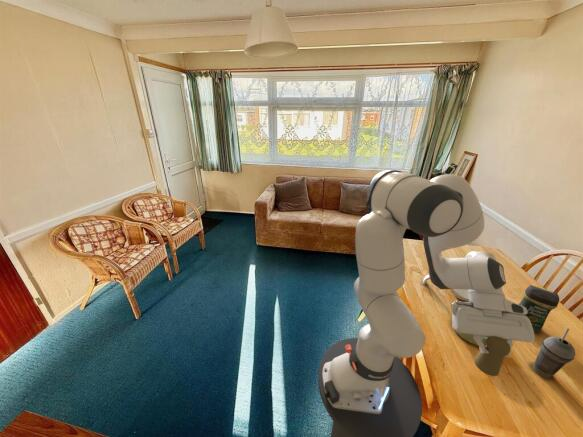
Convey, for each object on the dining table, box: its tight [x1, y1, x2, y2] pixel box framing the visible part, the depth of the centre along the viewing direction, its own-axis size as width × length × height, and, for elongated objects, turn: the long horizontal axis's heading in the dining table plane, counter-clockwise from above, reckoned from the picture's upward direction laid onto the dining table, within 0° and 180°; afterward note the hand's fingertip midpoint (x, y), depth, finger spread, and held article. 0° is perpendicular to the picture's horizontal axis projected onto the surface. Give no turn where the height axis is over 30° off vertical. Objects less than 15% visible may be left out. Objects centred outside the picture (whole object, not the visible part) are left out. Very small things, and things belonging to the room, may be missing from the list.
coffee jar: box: [518, 284, 560, 333], centre depth 94 cm, size 10×8×19 cm
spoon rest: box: [422, 274, 469, 302], centre depth 114 cm, size 24×12×7 cm, turn 55°
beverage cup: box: [532, 327, 576, 379], centre depth 76 cm, size 7×7×20 cm
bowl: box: [455, 332, 488, 347], centre depth 93 cm, size 14×14×5 cm
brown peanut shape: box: [473, 336, 511, 377], centre depth 67 cm, size 6×6×11 cm
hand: (495, 354), depth 66 cm, fingers closed on brown peanut shape, 4 cm apart
